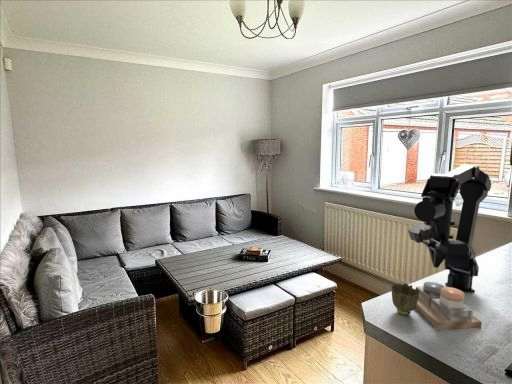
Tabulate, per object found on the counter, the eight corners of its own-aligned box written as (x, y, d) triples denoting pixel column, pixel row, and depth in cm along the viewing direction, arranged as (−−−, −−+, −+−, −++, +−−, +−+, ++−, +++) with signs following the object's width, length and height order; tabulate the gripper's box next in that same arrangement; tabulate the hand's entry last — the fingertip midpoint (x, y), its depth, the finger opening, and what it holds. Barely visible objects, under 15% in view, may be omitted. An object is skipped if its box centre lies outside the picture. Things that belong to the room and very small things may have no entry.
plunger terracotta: (453, 301, 89) (455, 286, 88) (467, 311, 83) (469, 296, 83) (435, 301, 89) (436, 287, 88) (447, 311, 83) (449, 296, 82)
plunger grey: (436, 294, 97) (437, 281, 96) (447, 303, 92) (449, 289, 91) (418, 295, 97) (419, 281, 96) (429, 303, 91) (430, 290, 91)
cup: (384, 309, 93) (385, 284, 92) (402, 305, 95) (404, 281, 94) (403, 322, 86) (405, 296, 85) (423, 317, 88) (425, 291, 87)
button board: (442, 299, 99) (444, 285, 98) (480, 328, 83) (482, 311, 82) (406, 300, 98) (407, 285, 98) (437, 330, 82) (439, 312, 82)
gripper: (397, 210, 99) (394, 256, 101) (433, 224, 81) (428, 280, 83) (431, 210, 100) (427, 256, 102) (473, 224, 81) (468, 280, 83)
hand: (435, 267), depth 93 cm, fingers closed
